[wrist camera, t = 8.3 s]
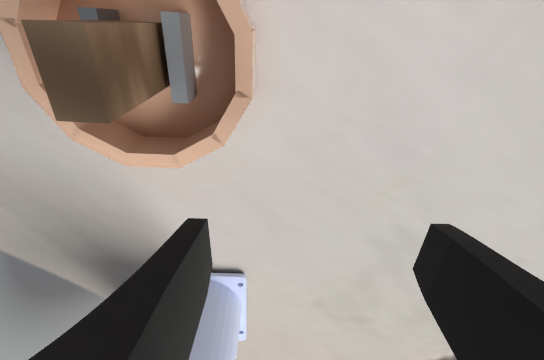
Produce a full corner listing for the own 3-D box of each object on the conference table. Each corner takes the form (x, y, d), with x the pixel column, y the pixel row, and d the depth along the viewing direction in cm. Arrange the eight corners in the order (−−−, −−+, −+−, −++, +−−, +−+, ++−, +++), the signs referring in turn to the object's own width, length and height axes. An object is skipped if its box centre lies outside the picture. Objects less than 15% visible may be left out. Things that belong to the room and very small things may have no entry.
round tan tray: (254, 149, 18) (251, 170, 15) (84, 142, 18) (52, 163, 15) (257, -72, 13) (254, -96, 10) (12, -87, 12) (-58, -116, 10)
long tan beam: (172, 83, 15) (109, 123, 9) (140, 82, 15) (56, 120, 9) (165, 22, 14) (84, 23, 8) (129, 20, 14) (20, 19, 8)
